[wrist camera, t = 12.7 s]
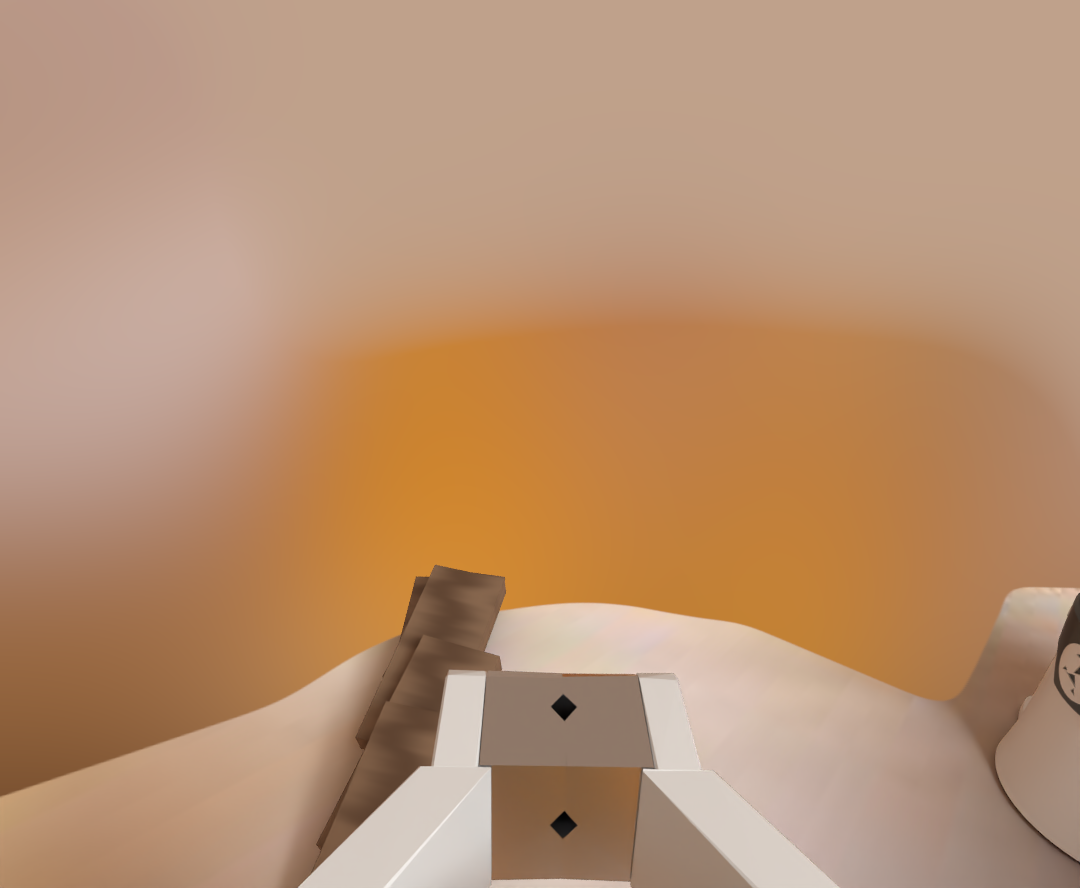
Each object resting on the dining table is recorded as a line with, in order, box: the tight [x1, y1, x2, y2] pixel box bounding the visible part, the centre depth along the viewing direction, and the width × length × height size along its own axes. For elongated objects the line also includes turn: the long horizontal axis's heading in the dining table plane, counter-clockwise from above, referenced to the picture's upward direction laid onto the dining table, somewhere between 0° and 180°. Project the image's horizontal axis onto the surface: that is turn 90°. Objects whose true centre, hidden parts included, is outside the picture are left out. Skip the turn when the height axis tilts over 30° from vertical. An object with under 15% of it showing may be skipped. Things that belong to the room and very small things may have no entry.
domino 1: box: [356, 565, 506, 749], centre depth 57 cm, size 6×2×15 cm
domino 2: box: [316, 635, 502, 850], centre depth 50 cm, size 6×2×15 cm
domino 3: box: [311, 701, 440, 874], centre depth 44 cm, size 6×2×15 cm
